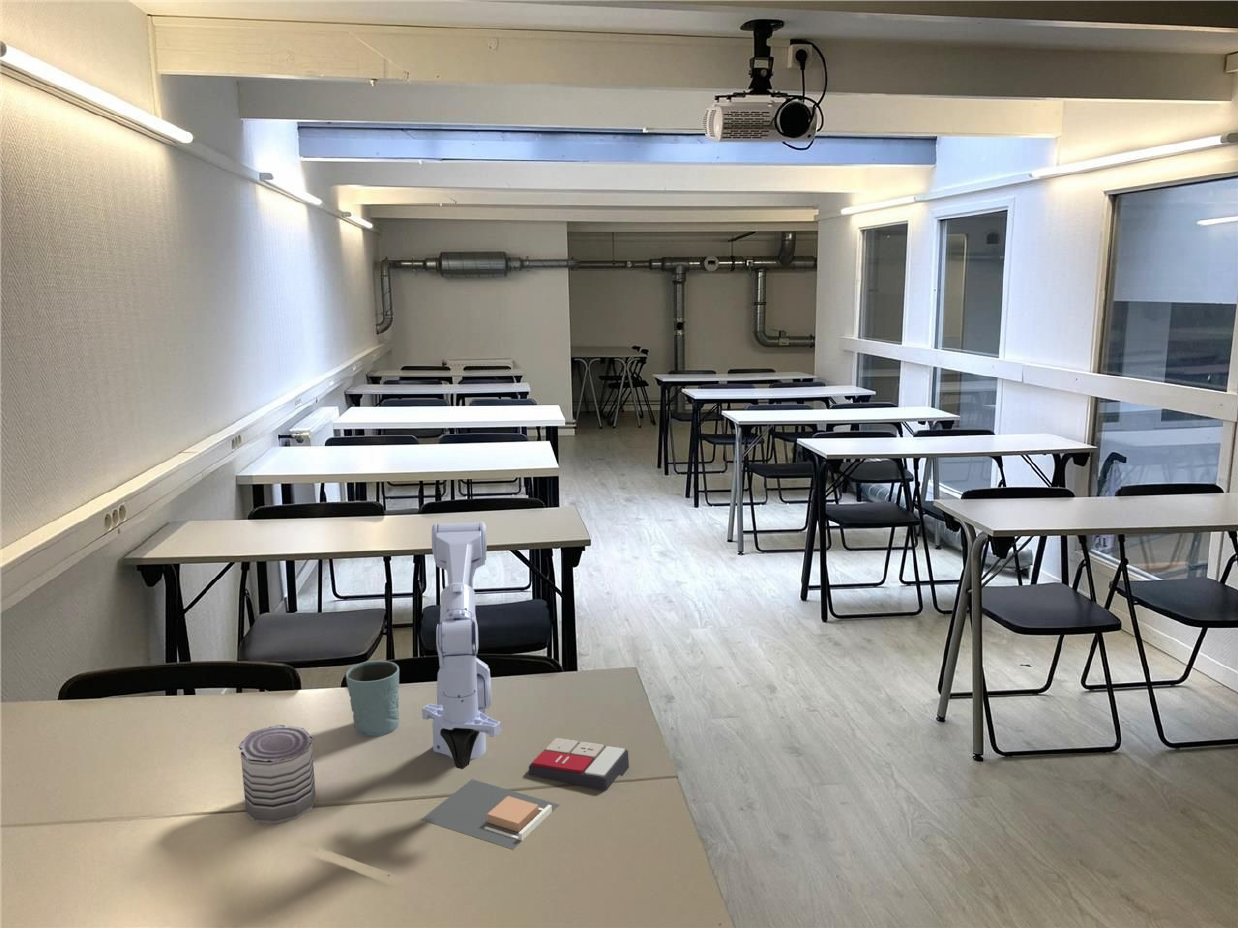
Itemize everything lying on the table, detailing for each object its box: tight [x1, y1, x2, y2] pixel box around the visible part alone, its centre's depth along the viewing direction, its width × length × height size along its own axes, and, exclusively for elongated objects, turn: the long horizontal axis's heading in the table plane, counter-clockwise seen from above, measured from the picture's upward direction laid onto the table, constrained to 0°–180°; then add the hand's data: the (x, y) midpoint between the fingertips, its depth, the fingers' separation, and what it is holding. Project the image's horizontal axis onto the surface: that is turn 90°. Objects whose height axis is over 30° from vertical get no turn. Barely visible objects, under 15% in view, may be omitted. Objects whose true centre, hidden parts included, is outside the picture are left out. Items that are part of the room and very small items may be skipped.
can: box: [237, 724, 317, 825], centre depth 157 cm, size 11×11×12 cm
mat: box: [420, 779, 560, 850], centre depth 154 cm, size 18×14×2 cm
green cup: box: [345, 660, 400, 738], centre depth 184 cm, size 10×10×12 cm
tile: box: [487, 796, 539, 832], centre depth 152 cm, size 2×6×6 cm
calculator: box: [528, 737, 630, 792], centre depth 168 cm, size 11×4×15 cm
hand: (462, 765), depth 155 cm, fingers closed
